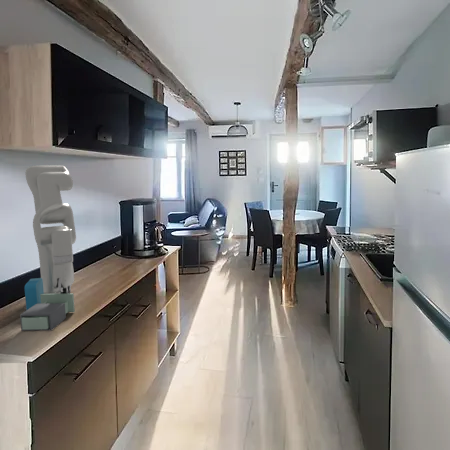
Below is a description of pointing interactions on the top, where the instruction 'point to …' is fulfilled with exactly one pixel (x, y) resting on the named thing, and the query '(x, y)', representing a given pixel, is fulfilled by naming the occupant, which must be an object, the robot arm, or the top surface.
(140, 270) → the top surface
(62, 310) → the mailer sleeve
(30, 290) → the data package
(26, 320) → the tray
